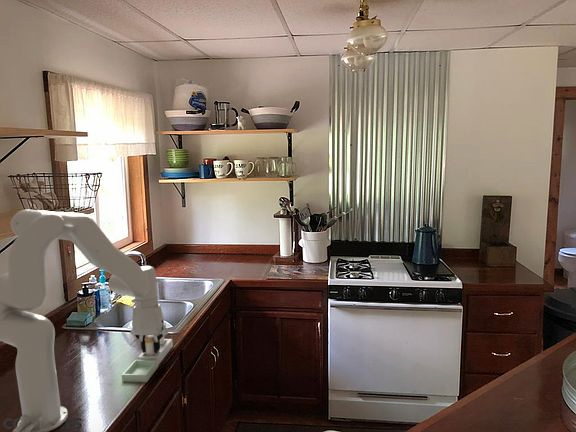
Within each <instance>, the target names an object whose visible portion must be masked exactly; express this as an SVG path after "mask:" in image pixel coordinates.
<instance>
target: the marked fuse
mask: <svg viewBox="0 0 576 432" xmlns="http://www.w3.org/2000/svg"><path fill="white" fill-rule="evenodd" d="M144 339H145V348H146V356H155V355H156V354H157V353H154V344H153V343H154V342H155V340H154V336H153V335H146V336H145V338H144Z"/></svg>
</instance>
